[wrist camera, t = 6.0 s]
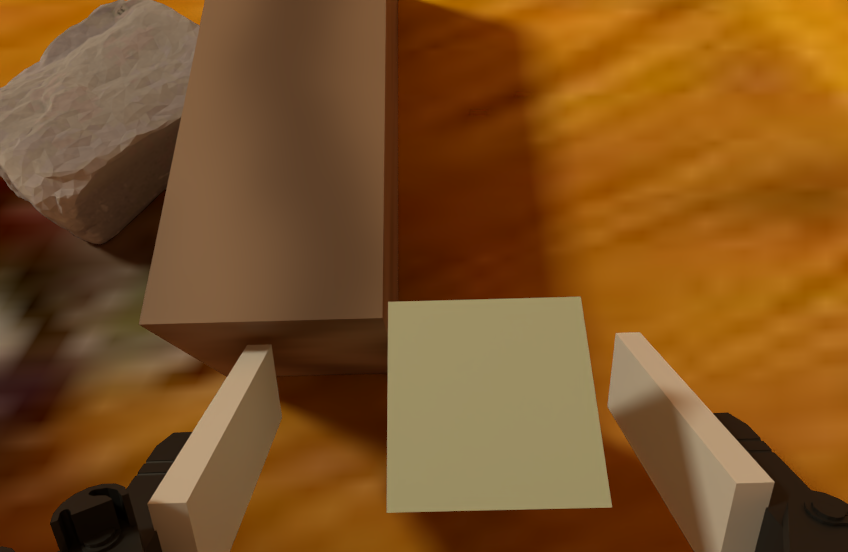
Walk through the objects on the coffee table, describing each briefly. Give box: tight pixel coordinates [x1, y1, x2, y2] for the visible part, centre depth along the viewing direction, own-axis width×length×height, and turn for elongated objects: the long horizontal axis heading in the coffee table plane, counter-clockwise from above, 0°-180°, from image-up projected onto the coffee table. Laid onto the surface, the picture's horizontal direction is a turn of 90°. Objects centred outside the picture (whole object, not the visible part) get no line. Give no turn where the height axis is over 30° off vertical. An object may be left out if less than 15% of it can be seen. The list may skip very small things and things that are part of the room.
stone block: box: [0, 0, 200, 245], centre depth 26 cm, size 12×5×10 cm
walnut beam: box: [139, 0, 398, 377], centre depth 23 cm, size 7×22×7 cm, turn 1°
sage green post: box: [387, 297, 612, 513], centre depth 15 cm, size 4×4×11 cm
